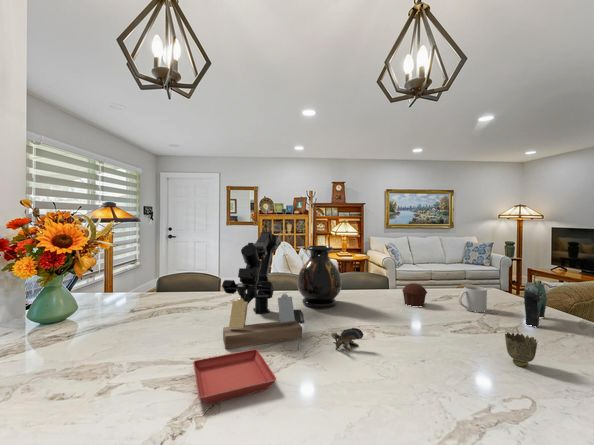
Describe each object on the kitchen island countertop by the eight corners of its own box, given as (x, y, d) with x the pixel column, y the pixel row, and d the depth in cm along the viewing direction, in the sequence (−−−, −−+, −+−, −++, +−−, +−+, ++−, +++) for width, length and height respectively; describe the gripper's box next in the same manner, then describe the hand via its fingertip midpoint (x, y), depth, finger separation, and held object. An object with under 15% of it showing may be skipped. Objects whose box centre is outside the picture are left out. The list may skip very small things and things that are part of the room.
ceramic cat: (539, 330, 111) (540, 277, 110) (518, 325, 116) (519, 274, 115) (549, 318, 124) (550, 271, 124) (530, 314, 129) (530, 269, 128)
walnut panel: (223, 339, 101) (223, 327, 101) (294, 330, 109) (294, 319, 109) (225, 348, 93) (225, 336, 93) (302, 338, 102) (302, 327, 101)
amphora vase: (344, 311, 132) (345, 249, 131) (296, 310, 132) (297, 248, 132) (338, 298, 153) (338, 244, 153) (297, 297, 154) (297, 244, 153)
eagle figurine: (348, 353, 88) (368, 341, 93) (336, 330, 90) (357, 319, 95) (335, 358, 94) (355, 346, 99) (325, 336, 96) (345, 326, 101)
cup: (539, 374, 79) (539, 344, 79) (505, 367, 83) (506, 338, 83) (534, 363, 85) (535, 335, 85) (503, 356, 89) (504, 330, 89)
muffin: (400, 300, 150) (400, 281, 149) (422, 301, 148) (423, 281, 148) (405, 307, 138) (405, 286, 138) (430, 308, 136) (430, 287, 136)
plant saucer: (198, 412, 63) (198, 397, 63) (192, 372, 80) (192, 359, 80) (277, 393, 70) (277, 379, 70) (257, 359, 87) (257, 348, 87)
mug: (486, 308, 136) (486, 287, 136) (486, 314, 128) (486, 291, 128) (459, 305, 142) (460, 284, 142) (458, 310, 134) (458, 288, 134)
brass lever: (230, 327, 100) (235, 297, 104) (245, 328, 99) (248, 298, 103) (228, 327, 98) (233, 296, 102) (242, 327, 97) (247, 297, 101)
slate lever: (279, 323, 104) (276, 294, 108) (293, 321, 106) (289, 293, 110) (281, 322, 102) (278, 293, 106) (295, 320, 104) (291, 292, 108)
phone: (301, 309, 131) (304, 321, 116) (301, 312, 131) (304, 324, 116) (283, 309, 131) (284, 321, 116) (283, 312, 131) (284, 324, 116)
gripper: (223, 258, 111) (211, 295, 100) (272, 260, 109) (264, 297, 98) (231, 275, 119) (220, 311, 108) (276, 277, 116) (269, 313, 106)
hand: (243, 308), depth 105 cm, fingers closed
